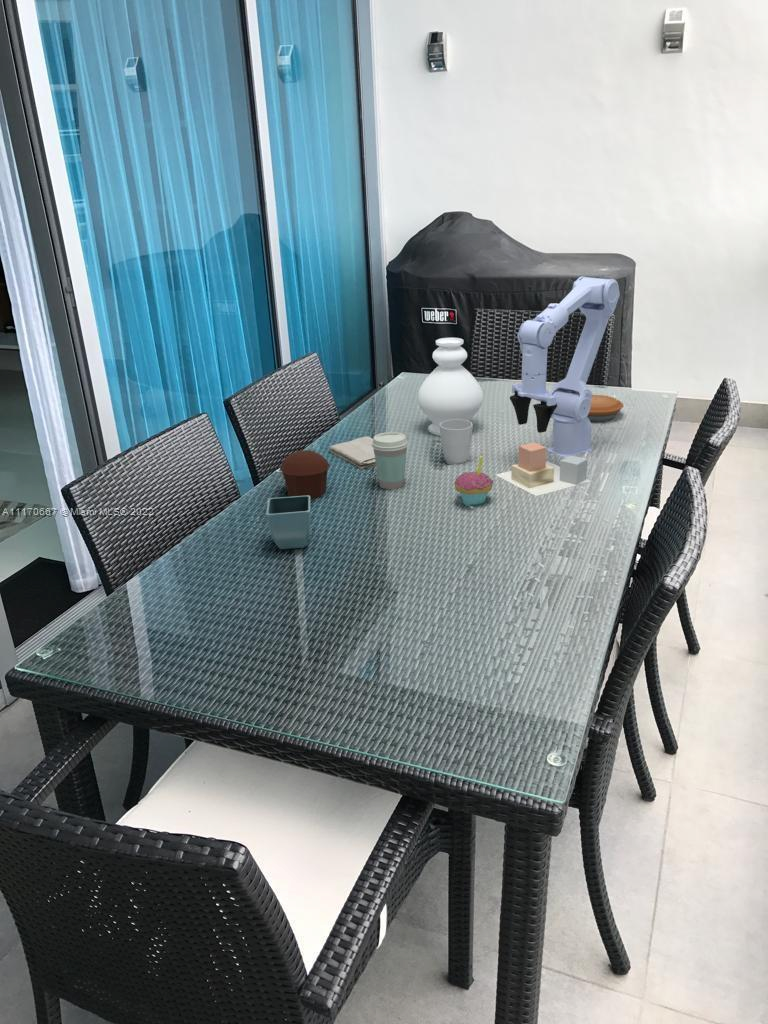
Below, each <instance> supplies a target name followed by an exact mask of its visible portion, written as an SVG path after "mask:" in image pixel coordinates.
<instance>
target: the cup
mask: <svg viewBox="0 0 768 1024" xmlns="http://www.w3.org/2000/svg"><path fill="white" fill-rule="evenodd" d="M472 425H473V422H472V421H471V420H470V421H467V420H460V419H454V420H447V421H443V422H441V423H440V435H441V436H440V442H441V443H440V444H441V447H442V452H443V456H444V460H445V462H446V464H447V465H449V466H451V465H458V464H464V463H466V462H467V461H468V458H469V455H470V453H471V452H470V451H471V445H472V438H473V437H472V435H473V430H472Z"/></svg>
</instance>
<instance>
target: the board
mask: <svg viewBox="0 0 768 1024" xmlns="http://www.w3.org/2000/svg"><path fill="white" fill-rule="evenodd" d="M546 464H547V465H549V466H551V467H553V468H554V482H552V483H548V484H544V485H540V486H537V487H533V488H528V487H526V486H524V485H522V484H520V483H518V482H516V481H514V480H512V479H511V473H512V470H509V471H505V472H501V473H497V474H495V476H496V477H499V478H500V479H502V480H505V481H506V482H508V483H509V484H512V485H514V486H516V487H518V488H520V489H522V490H524V491H526V492H528V493H529V494H531V495H533V496H535V497H538V496H543V495H546V494H550V493H553V492H557V491H560V490H563V489H568V488H572V487H575V486H580V485H583V484H586V483H590V482H591V479H588V478H586V479H585V480H584V481H582V482H580V483H579V484H577V485H575V484H571V483H567V482H563V481H560V465H558V464H555V463H552V462H551V461H546Z"/></svg>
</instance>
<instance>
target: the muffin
mask: <svg viewBox="0 0 768 1024" xmlns="http://www.w3.org/2000/svg"><path fill="white" fill-rule="evenodd" d="M330 467H331V464H330V463H329V462H328V460H327V459H326V458H325V457H324V456H323V455H322V454H321V453H318V452H316V451H314V450H307V449H306V450H303V449H302V450H297V451H294V452H292V453H290V454H288V455H287V456H285V458H284V459H283V461H282V463H281V465H280V467H279V470H280V471H281V473H282V475H283V478H284V482H285V483H284V484H285V486H286V491H287V495H289V497H293V496H307V495H309V496H310V501H311V500H313V499H317V498H321V497H322V496H323V495H324V494H326V491H327V481H328V470H329V468H330Z"/></svg>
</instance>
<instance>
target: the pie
mask: <svg viewBox="0 0 768 1024" xmlns="http://www.w3.org/2000/svg"><path fill="white" fill-rule="evenodd" d="M622 408H624V403H623V402H622V400H621V401H620V400H619V399H617V398H616V397H612V396H608V395H601V394H592V399H591V406H590V411H589V414H588V415H587V418H588V419H589V420H590V423H591V422H592V423H593V422H594V423H603V422H608V421H612V420H614V418H616V416H617V415H618V413H619V412H620V411H621V410H622Z"/></svg>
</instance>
